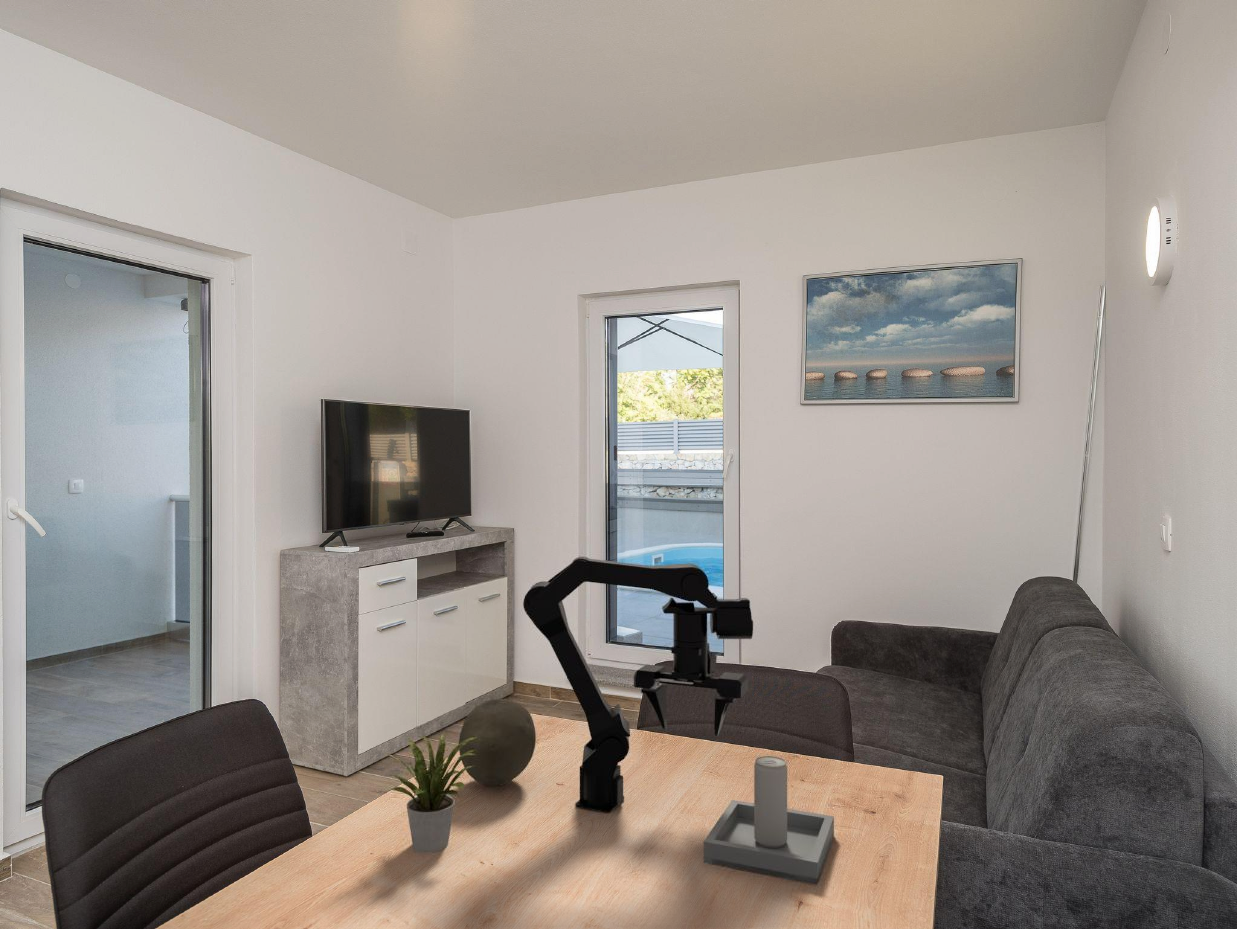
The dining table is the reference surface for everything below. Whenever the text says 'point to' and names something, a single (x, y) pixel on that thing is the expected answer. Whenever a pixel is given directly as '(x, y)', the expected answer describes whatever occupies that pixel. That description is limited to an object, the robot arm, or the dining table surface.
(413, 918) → the dining table surface
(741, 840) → the tray
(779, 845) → the beverage can
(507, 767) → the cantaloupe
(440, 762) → the house plant
